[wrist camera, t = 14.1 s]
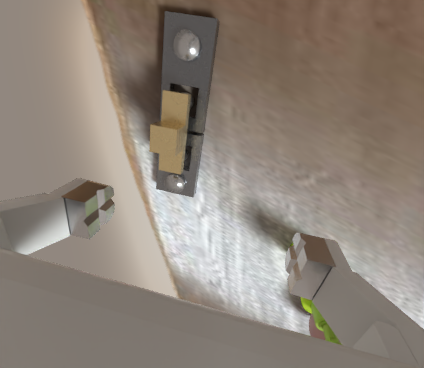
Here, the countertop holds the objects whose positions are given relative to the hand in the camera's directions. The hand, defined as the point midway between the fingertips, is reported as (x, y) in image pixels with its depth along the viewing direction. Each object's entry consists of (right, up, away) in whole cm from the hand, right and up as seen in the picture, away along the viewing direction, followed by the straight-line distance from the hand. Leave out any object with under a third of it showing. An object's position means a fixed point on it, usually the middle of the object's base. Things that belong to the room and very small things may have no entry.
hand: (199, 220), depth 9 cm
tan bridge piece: (-5, +12, +31) cm, 34 cm away
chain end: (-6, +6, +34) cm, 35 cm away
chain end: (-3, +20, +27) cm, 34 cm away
